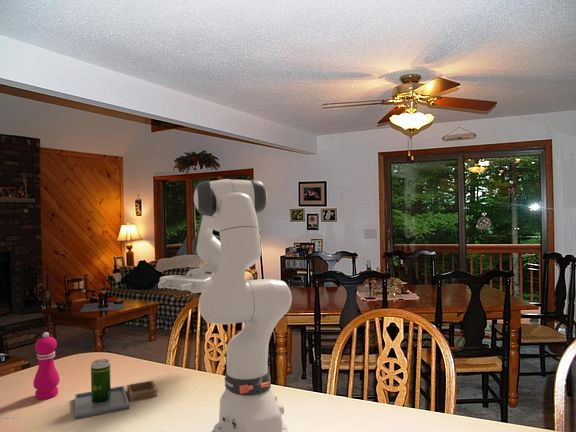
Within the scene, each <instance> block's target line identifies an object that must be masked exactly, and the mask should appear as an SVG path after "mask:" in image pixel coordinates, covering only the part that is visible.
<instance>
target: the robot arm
mask: <svg viewBox="0 0 576 432" xmlns="http://www.w3.org/2000/svg"><path fill="white" fill-rule="evenodd" d="M267 201H268V193H267V189H266V187H265V185H264V183H263V182H262V181H260V180H257V179H256V180H255V179H250V180H249V179H248V180H247V179H230V178H223V179H218V180H211V181H209V180H205V181H202V182H198V184H197V185H196V187H195V190H194V193H193V203H194V207H195V208H196V211H197V212H198V213H199V214H200V218H199V220H198V226H197V228H196V229H197V230H196V235H195V237H194V239H193V241H192V245H191V250H192V253H193V254H194V255H195V256H196V257H198V258H199V259H201V260H202V261H203V262H205V264H206V266H204V267H203V266H202V267H197V268H191V269H190V270H188V271H187V272H186V273H185V275H180V274H179V275H177V274H172V275H164V276H160V278H159V281H158V283H157V287H158V289H164V288H166V289H172V290H173V289H175V290H179V291H183V292H184V291H189V292H191V293H192V294H198V293H201V294H200V296H199V298H198V309H199V313H200V315H201V317H202V318H203V320H204V321H205V322H207V324H214V325H231V324H238V323H239V324H240V323H245V324H244V326H243V327H242V328H241V330H240V331H239V332H238V333H237V334H235V335H234V336H232V337H231V338H230V340H229V341H228V342H227V344H226V371H225V373H224V387H225V389H224V391H223V393H222V394H221V396H220V398H219V411H218V412H219V413H218V422H217V423H215V424H214V425H213V432H290V431H289V429H288V427H287V426H286V424H285V421H284V419H283V417H282V415H284V414H285V408H284V405H283V404H282V405H281V404H280V405H278V402H277V401H278V396H277V395H275V394H274V393H273V390H272V383H271V376H270V371H269V369H268V358H269V357H268V356H269V343H270V340H271V336H272V333H273V331H274V329H275V327H276V325H277V324H278V322H279V321H280V320H281V319H282V318H283V317H284V315H286V314H287V313H288V312H289V310H290V308H291V304H292V302H293V301H292V299H293V296H292V291H291V289H290V287H289V286H288V284H287V283H286V282H285V281H284V280H282V279H281V280H280V279H274V278H273V279H271V278H263V279H262V278H261V279H249V280H247V279H245V275H246V270H247V269H249V268H251V267H253V266H254V265H255V264H257V263H258V262H259V260H260V259H261V256H262V245H261V237H260V228H259V227H260V226H259V221H258V215H257V214H259V213H261V212H263V211H264V210H265V209H266V206H267ZM214 231H216V232H218V233H219V239H218V238H217V237H216V236H215V235H214V234H213V232H214Z"/></svg>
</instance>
